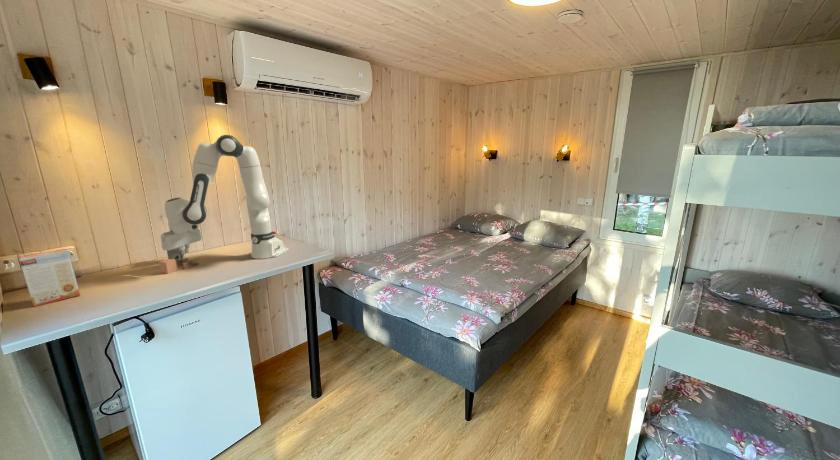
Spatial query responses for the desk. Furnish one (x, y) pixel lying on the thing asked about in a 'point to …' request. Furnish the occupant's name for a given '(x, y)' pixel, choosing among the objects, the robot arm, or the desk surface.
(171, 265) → the block
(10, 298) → the desk surface
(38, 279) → the cracker box
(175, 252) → the coffee box
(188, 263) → the chute
